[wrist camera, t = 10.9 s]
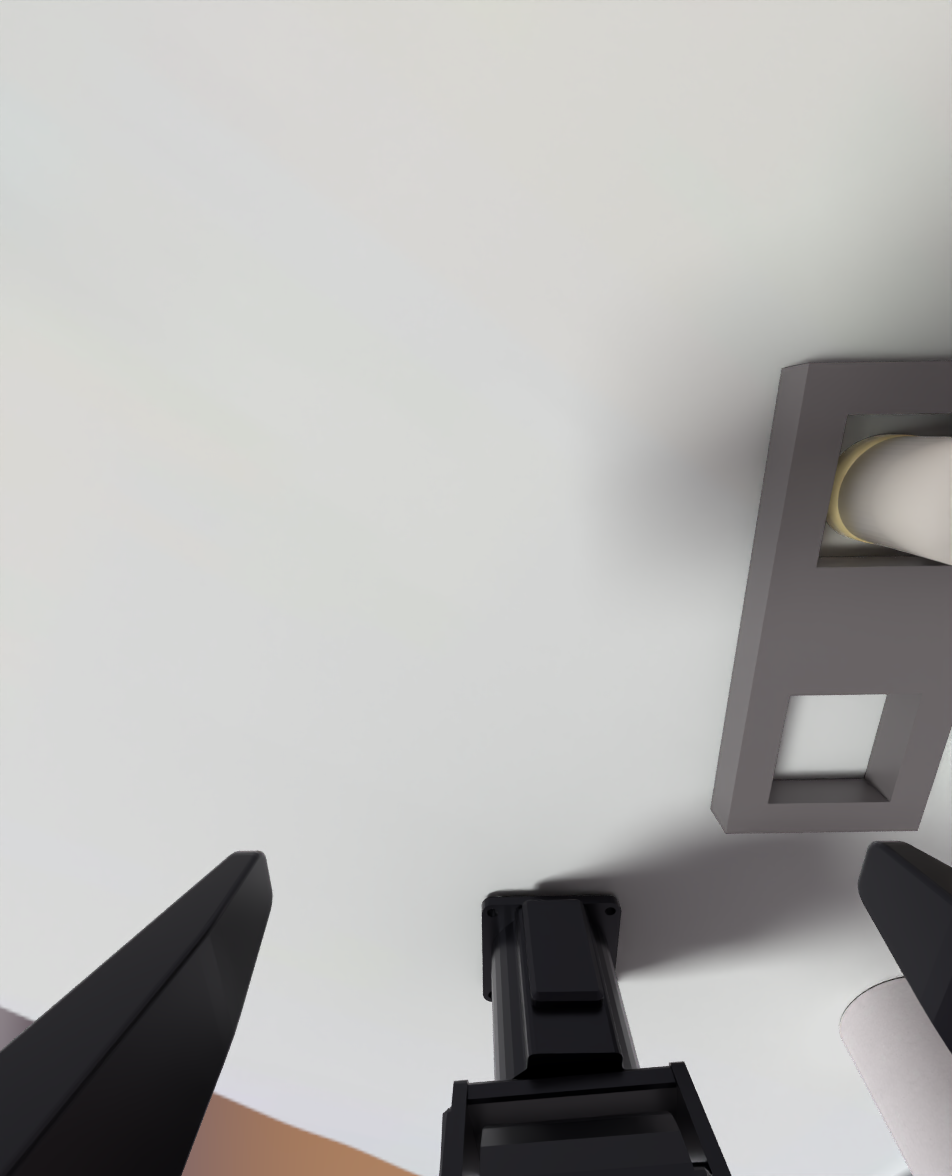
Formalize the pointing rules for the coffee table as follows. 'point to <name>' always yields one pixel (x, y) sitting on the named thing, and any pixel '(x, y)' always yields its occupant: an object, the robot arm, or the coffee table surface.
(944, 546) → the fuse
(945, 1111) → the coffee cup
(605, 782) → the coffee table surface
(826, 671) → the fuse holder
